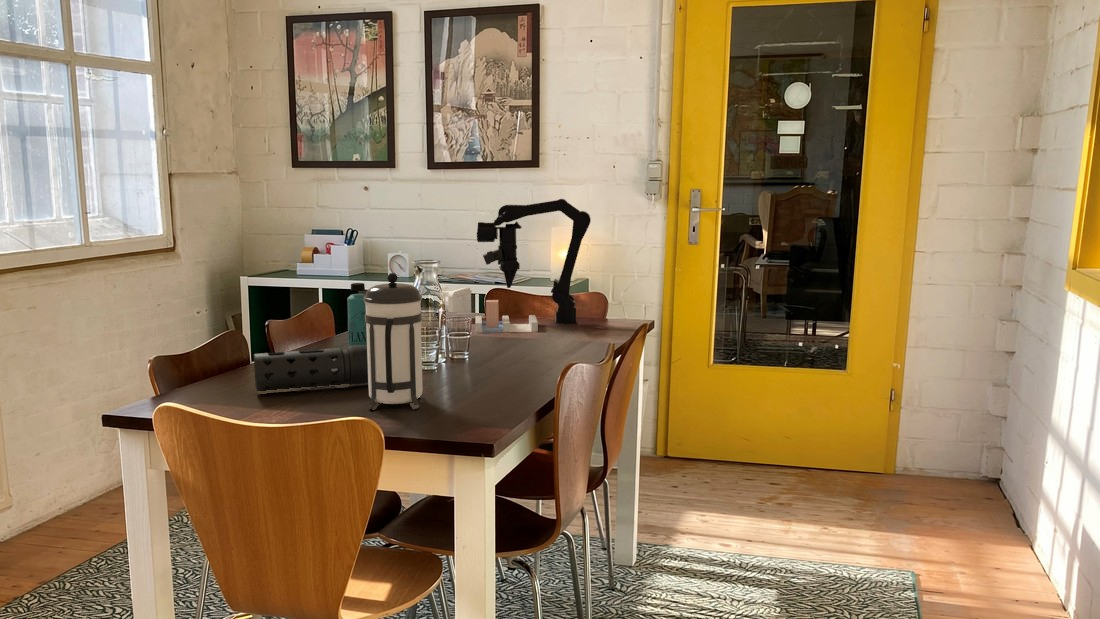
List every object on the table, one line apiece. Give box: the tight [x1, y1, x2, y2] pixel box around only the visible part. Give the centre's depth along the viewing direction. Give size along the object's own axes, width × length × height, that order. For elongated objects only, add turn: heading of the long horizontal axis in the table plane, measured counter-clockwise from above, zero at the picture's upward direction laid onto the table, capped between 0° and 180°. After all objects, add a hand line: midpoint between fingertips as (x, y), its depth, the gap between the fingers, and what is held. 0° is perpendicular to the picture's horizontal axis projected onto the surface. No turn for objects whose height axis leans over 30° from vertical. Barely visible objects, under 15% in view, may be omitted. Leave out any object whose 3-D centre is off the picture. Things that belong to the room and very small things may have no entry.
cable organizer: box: [440, 285, 472, 314], centre depth 301 cm, size 15×11×12 cm
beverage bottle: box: [346, 282, 367, 347], centre depth 252 cm, size 6×7×20 cm
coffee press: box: [364, 272, 424, 406], centre depth 191 cm, size 17×16×30 cm
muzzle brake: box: [253, 345, 368, 391], centre depth 207 cm, size 10×28×10 cm, turn 111°
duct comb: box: [475, 314, 539, 334], centre depth 283 cm, size 20×14×4 cm
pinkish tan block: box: [485, 299, 500, 329], centre depth 282 cm, size 4×4×9 cm
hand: (508, 287), depth 293 cm, fingers closed
